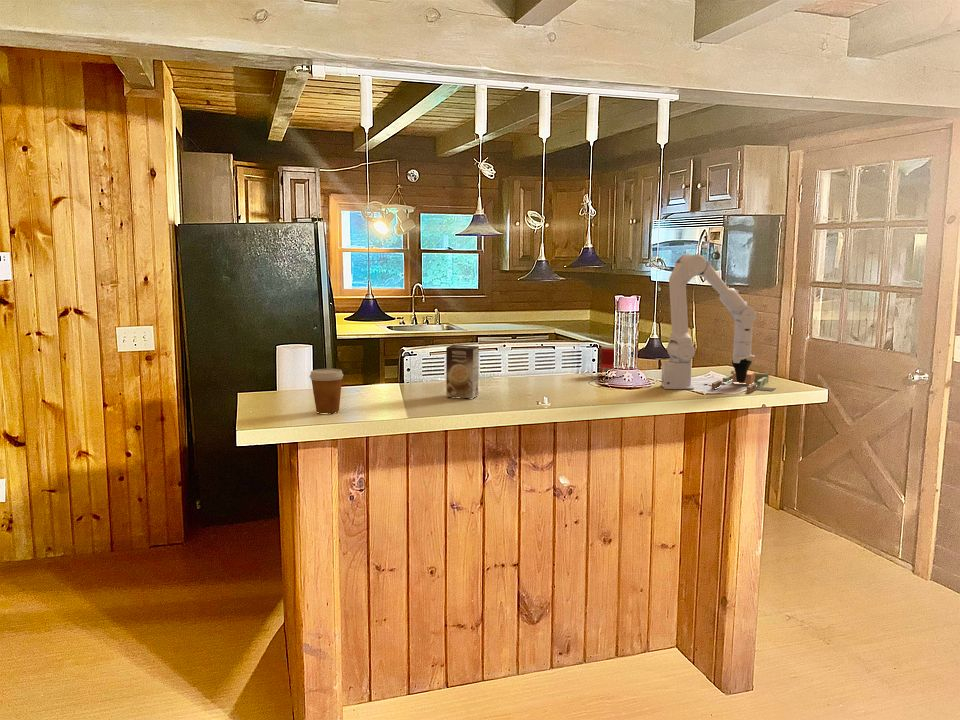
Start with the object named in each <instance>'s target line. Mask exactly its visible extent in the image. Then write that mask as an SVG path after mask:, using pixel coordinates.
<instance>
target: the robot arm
mask: <svg viewBox="0 0 960 720" xmlns="http://www.w3.org/2000/svg"><path fill="white" fill-rule="evenodd" d="M674 264H675V265H674V267H673V270H672V271H671V274H670V275H669V278H668V283H669V284H668V288H669V303H670V323H671V324H670V325H671V333H670V335H669V336H668V343H667V346H666V351H667V354H668V356H669V359H668V360H667V361H666V360H665V361H662V364H661V377H660V378H661V382H660V386H661V387H662V388H663V389H664V390H694V389H695V388H694V387H693V385H691V384H692V364H693V363H692V362H693V361H692V359H693V358H694V357H695V354H696V349H695V347H694V345H693V340H692V337H691V335H690V332H689V321H688V320H689V319H688V300H687V299H688V298H687V284H688V283H689V282H690V281H691V280H692V279H693V278H695V277H696V276H697V277H702V278H704V279H705V281H707V283H709V284H710V285H711V287H712V288H713V289H714V290H715V291H716V292H717V293H718V294H719V301H720V302H721V304H723V306H725V308H726V309H727V310H728V312H729V313H731V314H730V315H731V319H732V320H734V327H733V328H734V329H733V330H734V331H733V347H732V348H733V349H732V350H733V351H732V360H731V364H732V366H733V369H734V371H735V373H736V378H737V382H744V381H745V378H746V375H747V371H748V372H749V368H750V366H751V364H752V360H750V359H751V358H752V359H753V358H755V357H756V356H755V354H752V344H753V326H754V323H755V321H756V319H757V316H758V315H757V314H756V311H755V309H754V308H753V307H751V306H748V304H749V302H748V301H747V300H744V299H743V297H741V295H740V294H739V293H740V291H739V289H735V288H734V287H733V288H732V287H728V286H727V284H726V283H725V281H723V279H722V278H721V277H720V275H719V274H718V273H717V271H716V270H715V269H714V267H713V266H712V264H711V263H710V261H708V260H707V259H706V258H705V256H703V255H702V254H698V253H697V254H689V253H686V254H682V255H681V256H680V257H679V258H678V259H677V260H676V261H675V262H674ZM748 359H749V360H748Z"/></svg>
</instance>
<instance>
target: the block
mask: <svg viewBox="0 0 960 720" xmlns="http://www.w3.org/2000/svg"><path fill="white" fill-rule="evenodd" d="M755 373H756V372H755V371H749V370H748V371H747V375H746V378H745V381H744V382H739V383H746V384H752V383H753V382H755ZM733 382H737V378H736V373H735V372H734V373H733V381H732V383H733ZM755 383H756V382H755Z"/></svg>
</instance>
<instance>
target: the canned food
mask: <svg viewBox="0 0 960 720" xmlns="http://www.w3.org/2000/svg"><path fill="white" fill-rule="evenodd" d="M614 345H615V344H604V345H601V348H600V374H601V373H602V372H606V371H608V370H610V369H612V368H613V362H614Z"/></svg>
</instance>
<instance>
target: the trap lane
mask: <svg viewBox="0 0 960 720" xmlns="http://www.w3.org/2000/svg"><path fill="white" fill-rule="evenodd" d="M734 372H735V370H731V372H730V374H728V375H726V376H724V377H722V380H716V381H715V382H713V383H712V386H711V387H710V388H711V389H715V388H717V387H719V386H720V385H722V386H723V384H722V382H727V381H729V380H731V379H733V373H734ZM769 376H770V375H769V373H764V372H755V381H757V382H755V383H754V384H751V385H746V394H752V393H753V392H755V391H757V390H756V389H757V388H759V387H764V386H765V385H766V384H768V383H769ZM756 385H757V386H758V387H756Z"/></svg>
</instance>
